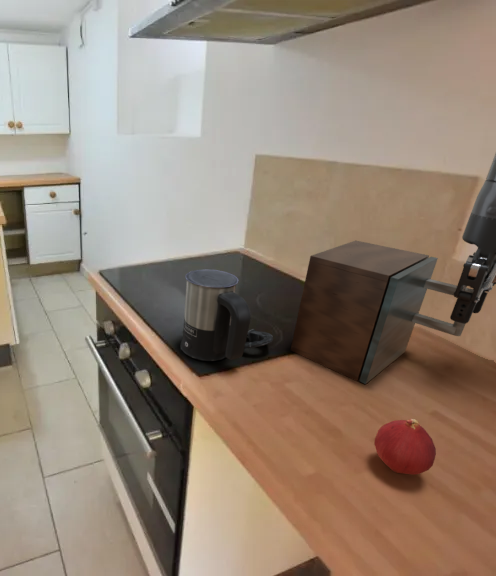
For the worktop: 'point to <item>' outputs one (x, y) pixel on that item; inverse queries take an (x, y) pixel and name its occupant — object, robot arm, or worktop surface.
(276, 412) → the worktop surface
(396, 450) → the onion
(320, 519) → the worktop surface
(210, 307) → the milk frother
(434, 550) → the worktop surface
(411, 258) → the cupboard
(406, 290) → the door
